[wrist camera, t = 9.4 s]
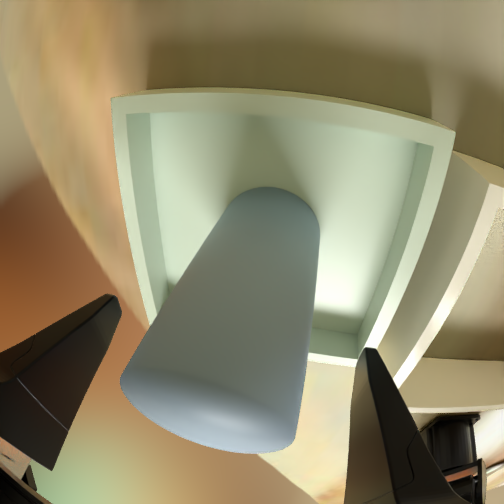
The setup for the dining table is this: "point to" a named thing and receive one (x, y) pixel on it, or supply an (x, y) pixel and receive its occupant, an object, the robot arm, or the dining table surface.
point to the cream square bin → (446, 297)
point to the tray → (288, 178)
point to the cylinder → (235, 330)
